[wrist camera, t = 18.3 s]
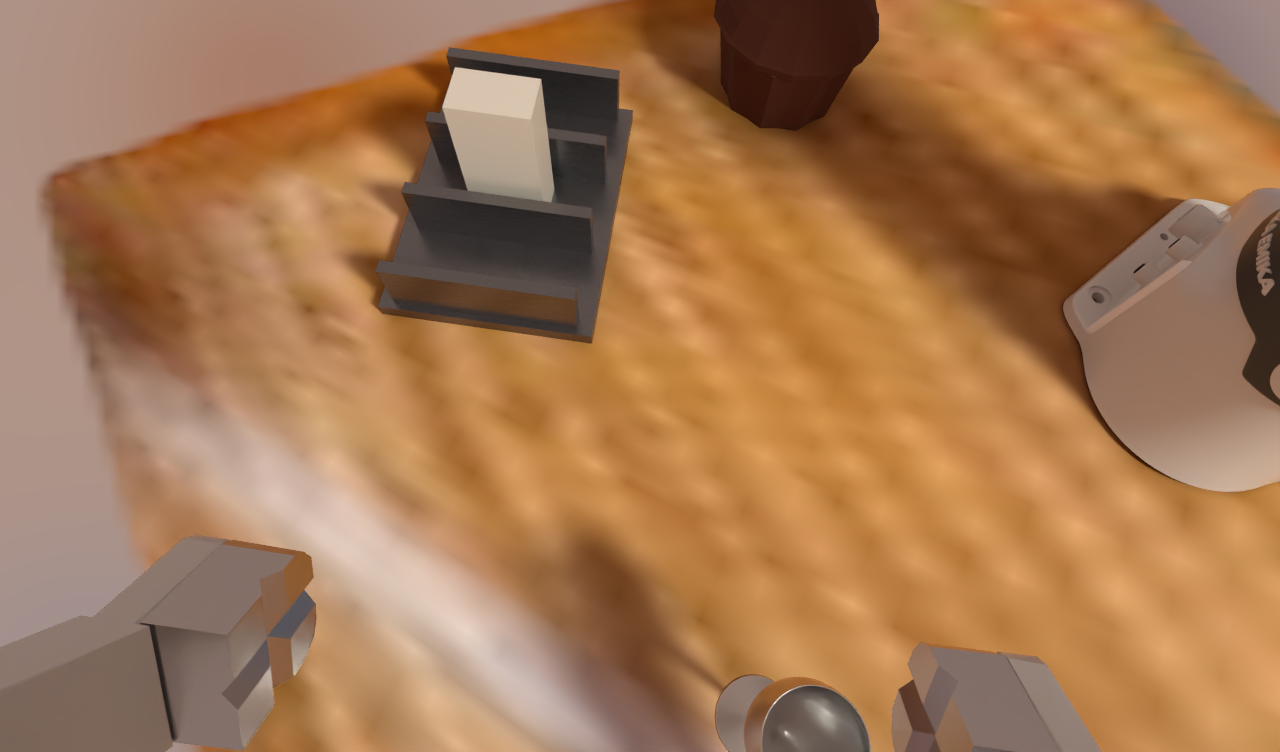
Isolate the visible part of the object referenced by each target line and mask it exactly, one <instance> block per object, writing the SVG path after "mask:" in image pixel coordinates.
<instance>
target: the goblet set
mask: <svg viewBox="0 0 1280 752" xmlns="http://www.w3.org/2000/svg"><path fill="white" fill-rule="evenodd" d="M715 722H716V728H717V732H718V735H719V738H720V740H721V742H722V743H723V745H724V747H725V748H726V749H727V750H728V751H729V752H871V744H870V738H869V734H868V730H867V728H866V725H865V723H864V721H863V719H862V717H861V715H860V713H859V712H858V711H857V709H856V708H855V707H854V705H853V704H852V703H851V702H850V701H849V700H848V699H847V698H846V697H845V696H843V695H842V694H841V693H840V692H838V691H837V690H835V689H834V688H832V687H831V686H829V685H827V684H825V683H823V682H821V681H818V680H815V679H811V678H806V677H789V678H785V679H781V680H778V681H776V682H774V681H773V680H771V679H769V678H767V677H764V676H760V675H746V676H742V677H740V678H737V679H736V680H734V681H732V682H731V683H730V684H729V685H728V686H727V687H726V688H725V689H724V691H723V692H722V694H721V695H720V697H719V700H718V703H717V706H716V712H715Z"/></svg>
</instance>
